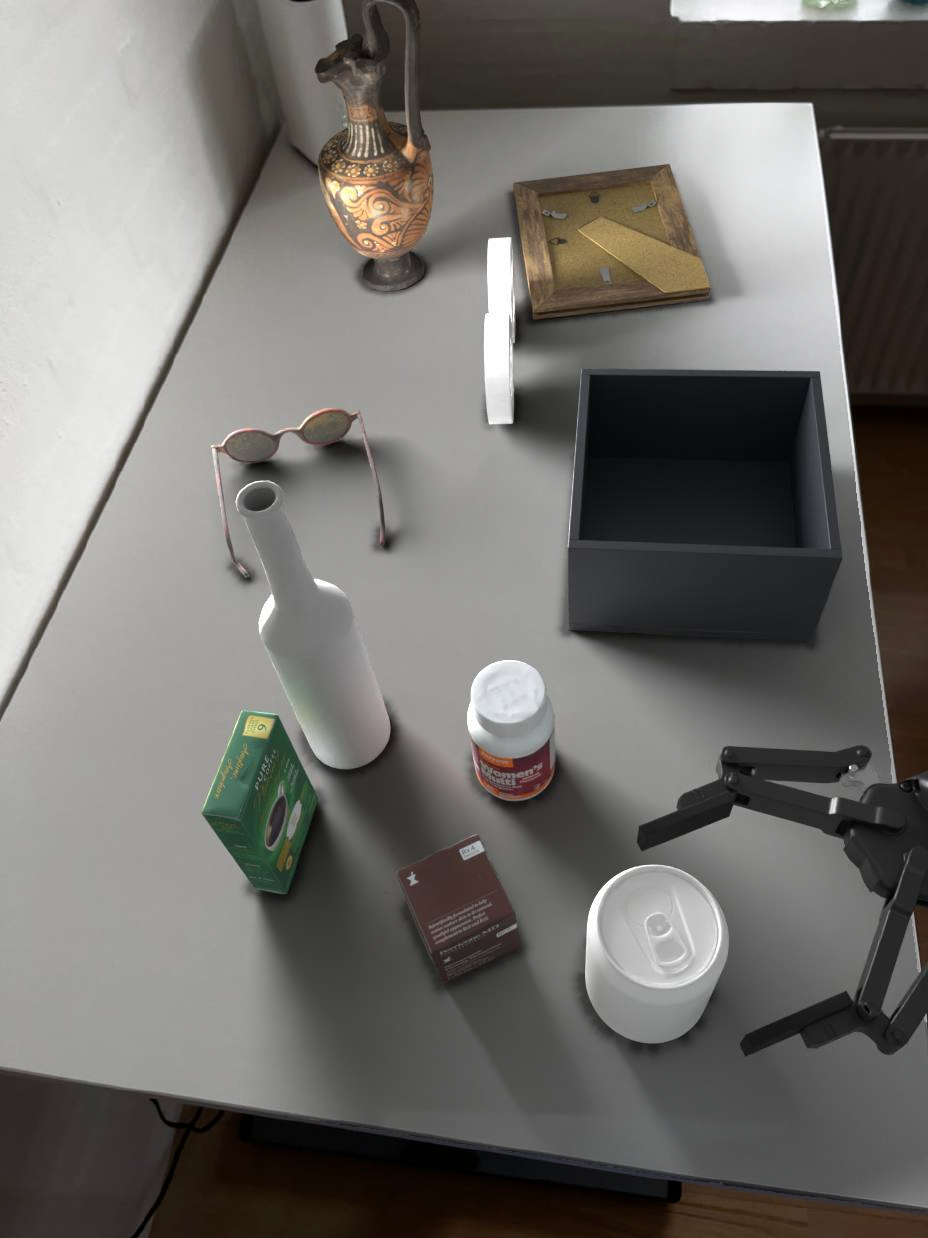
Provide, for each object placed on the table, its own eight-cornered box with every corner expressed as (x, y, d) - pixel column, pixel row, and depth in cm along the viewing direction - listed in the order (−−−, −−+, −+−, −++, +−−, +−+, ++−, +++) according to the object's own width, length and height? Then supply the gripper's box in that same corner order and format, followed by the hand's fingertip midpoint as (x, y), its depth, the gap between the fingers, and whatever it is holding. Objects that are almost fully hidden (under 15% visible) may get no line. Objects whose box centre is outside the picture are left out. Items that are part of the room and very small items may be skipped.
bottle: (376, 684, 81) (299, 441, 58) (401, 751, 77) (329, 519, 54) (299, 712, 80) (190, 476, 57) (321, 781, 76) (213, 558, 53)
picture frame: (709, 301, 104) (668, 175, 117) (711, 286, 102) (669, 161, 116) (533, 321, 105) (513, 194, 118) (533, 307, 103) (512, 180, 117)
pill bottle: (479, 808, 74) (466, 737, 64) (472, 735, 77) (458, 658, 68) (561, 798, 74) (559, 726, 64) (550, 726, 77) (547, 648, 68)
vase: (362, 238, 116) (306, -48, 91) (463, 247, 113) (433, -45, 88) (328, 301, 110) (258, 13, 85) (434, 313, 107) (393, 19, 82)
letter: (513, 445, 95) (507, 364, 86) (490, 446, 95) (482, 365, 87) (515, 299, 107) (511, 215, 99) (495, 300, 107) (489, 217, 99)
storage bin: (812, 642, 79) (842, 557, 70) (568, 630, 82) (567, 547, 73) (795, 463, 90) (820, 370, 81) (580, 458, 93) (581, 367, 84)
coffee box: (286, 788, 76) (239, 705, 65) (321, 795, 75) (280, 711, 65) (252, 889, 72) (195, 817, 61) (289, 896, 71) (238, 825, 60)
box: (441, 986, 67) (428, 955, 61) (408, 907, 70) (392, 870, 64) (522, 947, 68) (517, 913, 62) (485, 870, 71) (477, 831, 65)
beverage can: (676, 904, 68) (694, 838, 58) (729, 1020, 64) (758, 970, 54) (567, 943, 67) (566, 882, 58) (613, 1064, 63) (620, 1020, 53)
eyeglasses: (365, 432, 97) (356, 394, 93) (394, 544, 89) (386, 507, 85) (220, 467, 96) (204, 430, 92) (236, 583, 88) (219, 548, 84)
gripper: (1098, 1015, 59) (785, 1157, 57) (861, 688, 73) (601, 789, 71) (1159, 982, 53) (811, 1140, 51) (888, 632, 67) (604, 741, 64)
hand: (688, 936), depth 61 cm, fingers open, 13 cm apart
